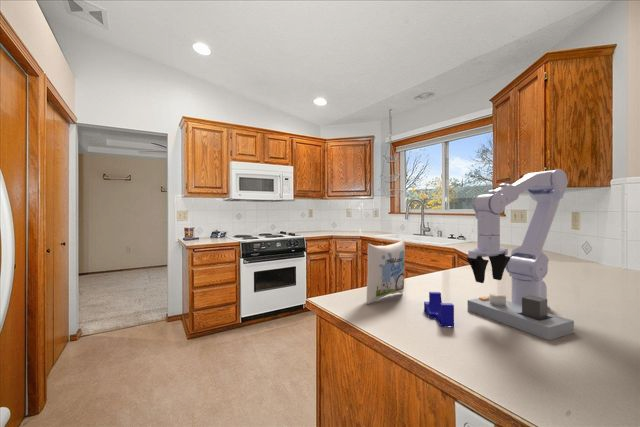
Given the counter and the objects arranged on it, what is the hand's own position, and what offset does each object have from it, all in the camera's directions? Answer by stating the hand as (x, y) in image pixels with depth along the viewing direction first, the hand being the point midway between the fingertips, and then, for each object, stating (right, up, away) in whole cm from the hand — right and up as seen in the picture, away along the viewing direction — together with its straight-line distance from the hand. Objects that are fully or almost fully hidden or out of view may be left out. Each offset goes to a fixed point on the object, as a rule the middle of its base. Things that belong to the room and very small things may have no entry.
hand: (488, 280), depth 84 cm
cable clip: (-17, -10, -4) cm, 20 cm away
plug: (+6, -9, -10) cm, 15 cm away
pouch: (-27, -10, +14) cm, 32 cm away
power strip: (+4, -9, -6) cm, 12 cm away
